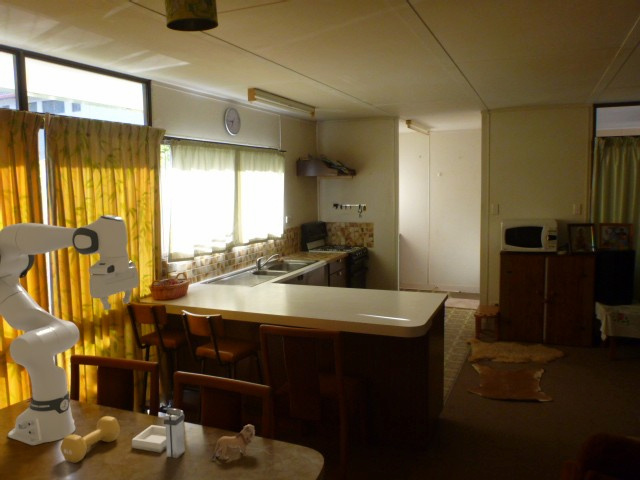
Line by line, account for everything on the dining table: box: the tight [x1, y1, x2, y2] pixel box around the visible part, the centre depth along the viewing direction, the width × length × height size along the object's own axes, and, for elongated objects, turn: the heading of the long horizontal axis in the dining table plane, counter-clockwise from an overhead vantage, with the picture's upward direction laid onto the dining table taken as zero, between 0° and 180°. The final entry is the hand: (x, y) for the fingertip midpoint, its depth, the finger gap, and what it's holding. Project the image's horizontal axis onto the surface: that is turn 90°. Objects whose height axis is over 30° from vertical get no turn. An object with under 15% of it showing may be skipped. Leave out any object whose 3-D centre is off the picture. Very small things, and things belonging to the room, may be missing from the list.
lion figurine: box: [211, 423, 256, 461], centre depth 171 cm, size 15×5×9 cm, turn 116°
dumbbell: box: [60, 415, 121, 464], centre depth 176 cm, size 19×9×8 cm, turn 156°
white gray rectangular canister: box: [163, 407, 186, 459], centre depth 172 cm, size 4×5×15 cm
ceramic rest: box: [131, 424, 167, 453], centre depth 180 cm, size 11×11×3 cm
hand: (117, 306), depth 175 cm, fingers open, 8 cm apart
